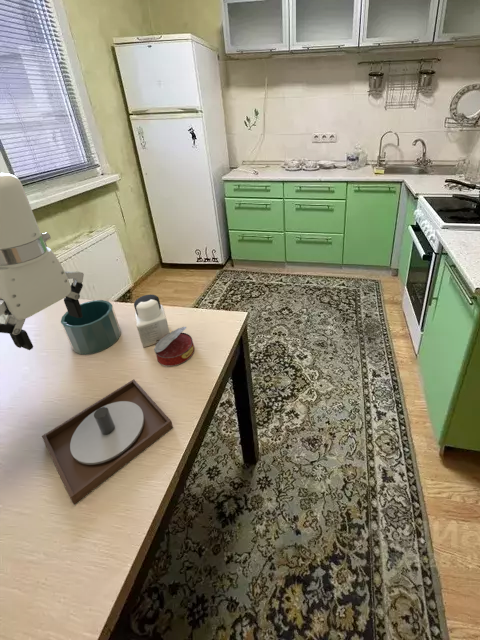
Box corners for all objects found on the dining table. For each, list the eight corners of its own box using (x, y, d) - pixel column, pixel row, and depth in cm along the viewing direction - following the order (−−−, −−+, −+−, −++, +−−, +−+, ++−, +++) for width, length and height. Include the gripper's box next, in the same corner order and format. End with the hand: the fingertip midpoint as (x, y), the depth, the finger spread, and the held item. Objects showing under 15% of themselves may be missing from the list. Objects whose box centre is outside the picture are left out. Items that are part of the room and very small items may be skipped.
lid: (86, 482, 59) (75, 461, 56) (62, 436, 67) (51, 415, 64) (156, 429, 68) (150, 409, 65) (127, 394, 76) (120, 374, 73)
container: (140, 332, 97) (129, 296, 91) (167, 324, 100) (158, 288, 94) (143, 348, 91) (131, 310, 85) (171, 339, 94) (162, 302, 88)
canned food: (172, 379, 86) (147, 364, 80) (163, 353, 94) (140, 337, 87) (206, 351, 88) (185, 334, 81) (195, 328, 95) (174, 310, 88)
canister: (81, 361, 87) (70, 334, 83) (66, 340, 95) (54, 314, 90) (128, 337, 95) (119, 311, 91) (110, 320, 103) (101, 295, 99)
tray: (74, 504, 56) (70, 498, 55) (45, 442, 67) (41, 436, 66) (173, 427, 69) (171, 420, 68) (135, 385, 79) (133, 379, 78)
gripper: (53, 228, 62) (80, 302, 70) (-60, 269, 48) (-11, 355, 56) (81, 234, 60) (105, 309, 68) (-31, 279, 46) (16, 368, 53)
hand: (53, 330), depth 62 cm, fingers open, 9 cm apart
